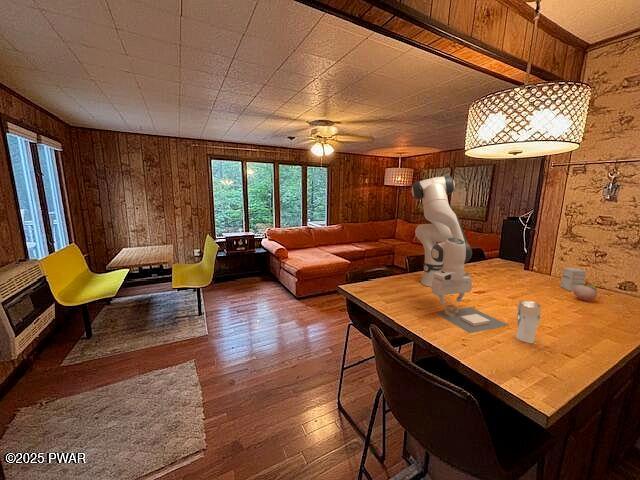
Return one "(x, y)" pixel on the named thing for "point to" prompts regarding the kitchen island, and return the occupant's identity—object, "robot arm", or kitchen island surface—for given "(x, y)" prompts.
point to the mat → (470, 329)
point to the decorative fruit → (585, 291)
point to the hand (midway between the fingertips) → (450, 302)
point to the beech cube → (451, 310)
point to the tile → (475, 320)
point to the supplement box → (572, 278)
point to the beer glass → (527, 321)
